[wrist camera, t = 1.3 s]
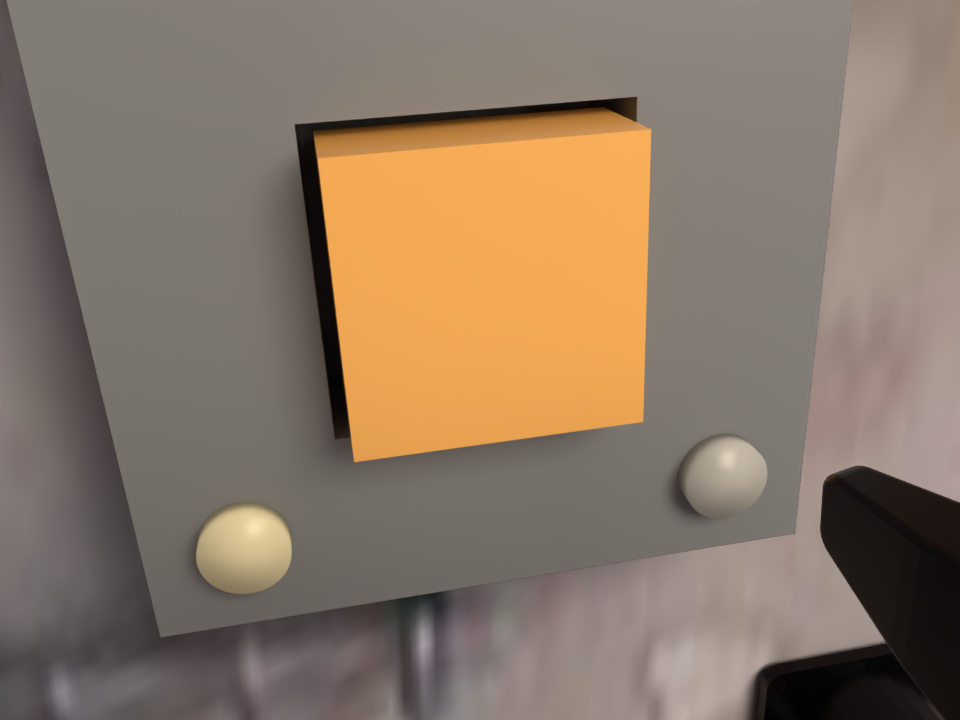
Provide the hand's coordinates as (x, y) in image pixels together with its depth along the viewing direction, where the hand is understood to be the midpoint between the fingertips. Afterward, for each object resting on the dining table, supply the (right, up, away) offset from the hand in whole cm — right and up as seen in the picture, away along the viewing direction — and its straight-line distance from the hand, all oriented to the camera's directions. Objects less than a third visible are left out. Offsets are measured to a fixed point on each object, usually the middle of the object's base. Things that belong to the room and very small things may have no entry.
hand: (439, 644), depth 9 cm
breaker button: (0, +5, +9) cm, 10 cm away
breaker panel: (0, +6, +11) cm, 13 cm away
